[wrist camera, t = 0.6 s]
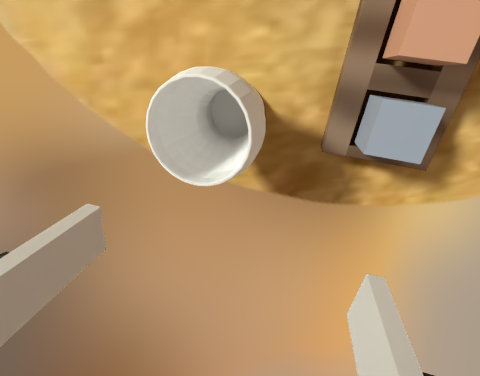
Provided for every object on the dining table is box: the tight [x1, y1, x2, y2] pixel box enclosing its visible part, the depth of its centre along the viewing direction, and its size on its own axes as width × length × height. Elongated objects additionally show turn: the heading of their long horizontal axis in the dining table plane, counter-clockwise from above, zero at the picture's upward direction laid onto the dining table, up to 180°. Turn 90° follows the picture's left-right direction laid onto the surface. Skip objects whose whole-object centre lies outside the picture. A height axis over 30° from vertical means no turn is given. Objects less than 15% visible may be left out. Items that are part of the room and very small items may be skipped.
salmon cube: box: [383, 0, 480, 66], centre depth 23 cm, size 5×5×5 cm
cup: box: [146, 66, 266, 186], centre depth 28 cm, size 11×11×15 cm
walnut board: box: [321, 0, 480, 171], centre depth 26 cm, size 27×12×3 cm, turn 172°
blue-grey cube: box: [355, 95, 446, 164], centre depth 27 cm, size 5×5×5 cm
